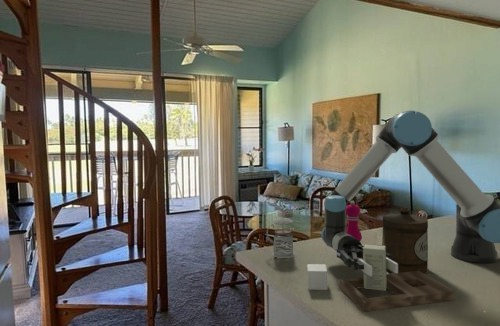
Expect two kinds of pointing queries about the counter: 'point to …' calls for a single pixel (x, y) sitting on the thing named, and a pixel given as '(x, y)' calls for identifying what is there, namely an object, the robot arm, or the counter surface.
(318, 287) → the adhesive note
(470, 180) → the robot arm
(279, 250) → the french press
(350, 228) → the pepper mill
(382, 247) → the skincare box
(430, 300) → the walnut plate
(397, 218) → the wooden container
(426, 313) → the counter surface
